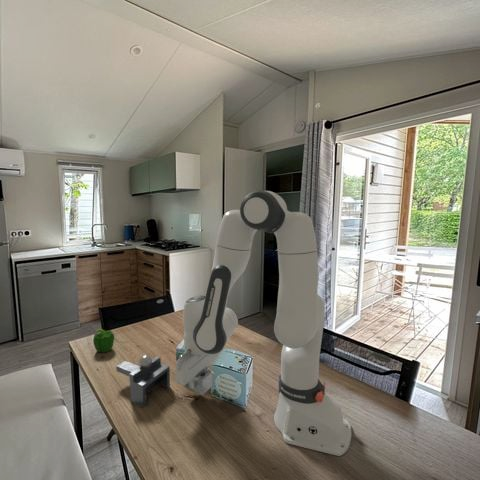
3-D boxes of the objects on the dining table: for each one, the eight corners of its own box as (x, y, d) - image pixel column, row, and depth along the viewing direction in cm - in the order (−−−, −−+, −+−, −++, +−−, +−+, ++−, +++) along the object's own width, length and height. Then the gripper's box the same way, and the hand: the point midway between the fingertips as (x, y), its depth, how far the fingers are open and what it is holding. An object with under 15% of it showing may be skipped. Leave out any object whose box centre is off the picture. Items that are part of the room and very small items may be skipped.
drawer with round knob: (169, 386, 105) (169, 351, 103) (143, 407, 94) (141, 369, 92) (134, 372, 113) (133, 339, 112) (106, 390, 102) (104, 355, 101)
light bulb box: (192, 376, 111) (191, 350, 109) (175, 374, 112) (175, 348, 111) (201, 361, 121) (201, 337, 120) (186, 359, 123) (185, 335, 121)
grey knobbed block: (212, 386, 99) (212, 372, 99) (203, 394, 95) (202, 379, 94) (194, 378, 103) (194, 365, 103) (184, 386, 99) (184, 372, 99)
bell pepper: (117, 345, 134) (116, 324, 133) (110, 354, 126) (109, 332, 125) (99, 345, 134) (98, 324, 133) (90, 354, 126) (89, 333, 125)
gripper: (185, 360, 87) (187, 403, 88) (221, 333, 105) (221, 369, 106) (169, 355, 90) (171, 397, 91) (206, 330, 108) (207, 365, 109)
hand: (198, 381), depth 99 cm, fingers closed on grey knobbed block, 5 cm apart
